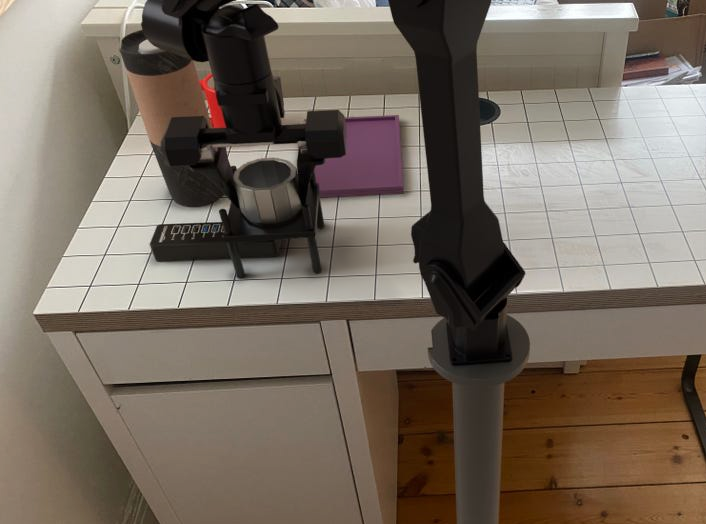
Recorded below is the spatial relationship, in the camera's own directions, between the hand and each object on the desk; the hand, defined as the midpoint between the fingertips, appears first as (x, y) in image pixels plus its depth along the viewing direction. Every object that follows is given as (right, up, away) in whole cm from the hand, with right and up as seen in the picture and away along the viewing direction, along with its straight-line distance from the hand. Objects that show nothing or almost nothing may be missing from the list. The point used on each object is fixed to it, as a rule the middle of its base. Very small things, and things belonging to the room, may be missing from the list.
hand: (272, 204), depth 86 cm
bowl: (0, 0, 0) cm, 0 cm away
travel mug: (-13, +4, +14) cm, 20 cm away
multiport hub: (-8, -4, +5) cm, 10 cm away
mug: (-13, +16, +25) cm, 32 cm away
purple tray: (+6, +11, +20) cm, 23 cm away
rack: (0, -5, +5) cm, 6 cm away
